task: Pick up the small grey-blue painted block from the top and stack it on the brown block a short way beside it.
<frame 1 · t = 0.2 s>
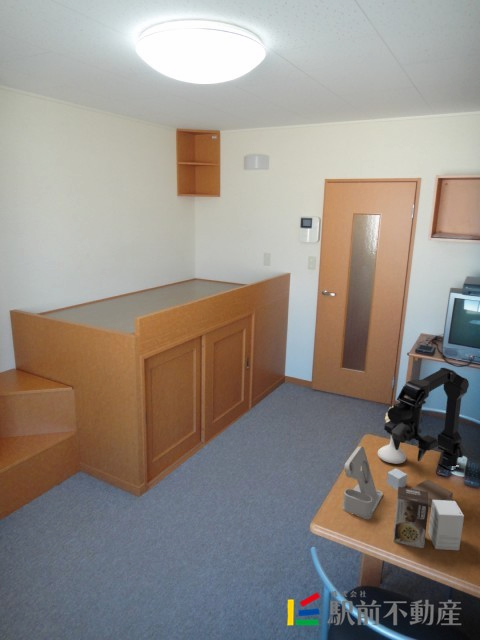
hand: (407, 455, 165), 14 cm above the table, tool pointing down, fingers open, 9 cm apart
flower in vase: (391, 460, 187), on the table
supplement box: (442, 542, 142), on the table
phone holder: (362, 502, 161), on the table
brown block: (431, 497, 163), on the table
coffee box: (408, 539, 143), on the table
grey-blue block: (396, 485, 171), on the table
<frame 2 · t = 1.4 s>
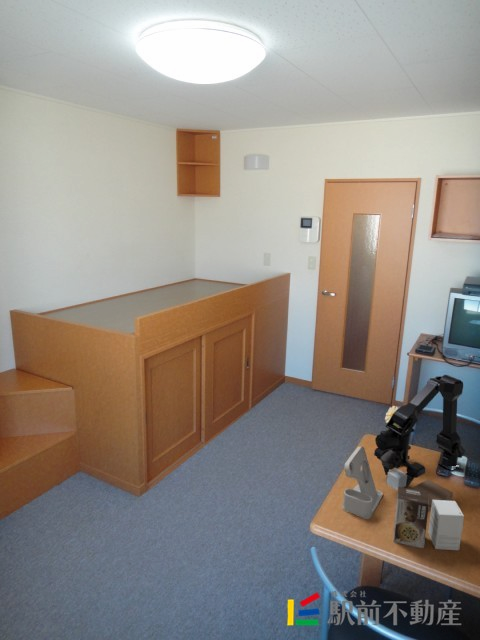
hand: (396, 480, 170), 2 cm above the table, tool pointing down, fingers open, 9 cm apart
nothing on the table moved.
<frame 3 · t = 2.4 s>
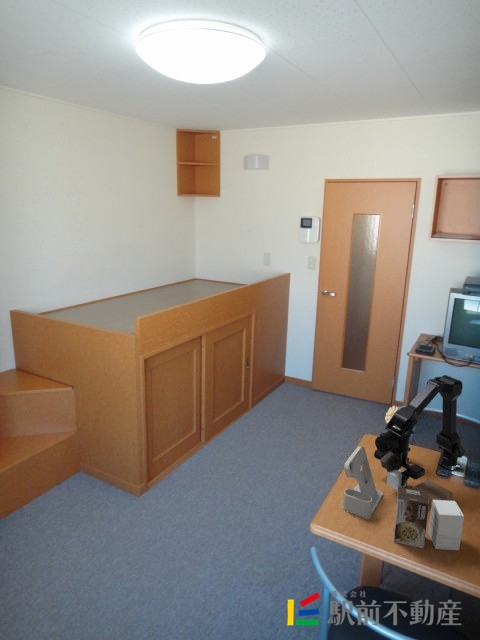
hand: (396, 482, 170), 1 cm above the table, tool pointing down, fingers closed on grey-blue block, 5 cm apart
grey-blue block: (396, 484, 171), on the table, touching gripper
everything else where it was.
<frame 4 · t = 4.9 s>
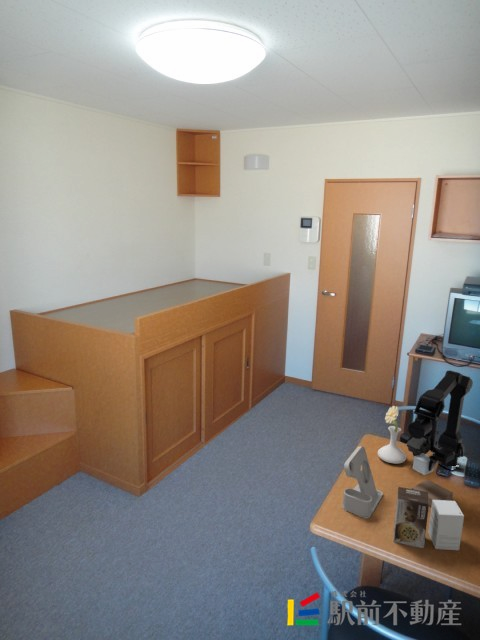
hand: (423, 467, 163), 11 cm above the table, tool pointing down, fingers closed on grey-blue block, 5 cm apart
grey-blue block: (422, 469, 163), point 10 cm above the table, touching gripper
everything else where it was.
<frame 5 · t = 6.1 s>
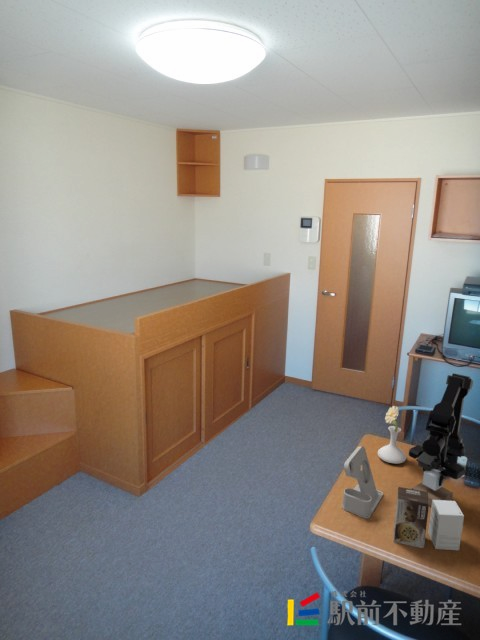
hand: (433, 482, 162), 6 cm above the table, tool pointing down, fingers closed on grey-blue block, 5 cm apart
grey-blue block: (432, 484, 162), point 5 cm above the table, touching gripper
everything else where it was.
when the fingers open (5 cm above the table, at t = 7.2 s): grey-blue block drops 1 cm, resting on brown block.
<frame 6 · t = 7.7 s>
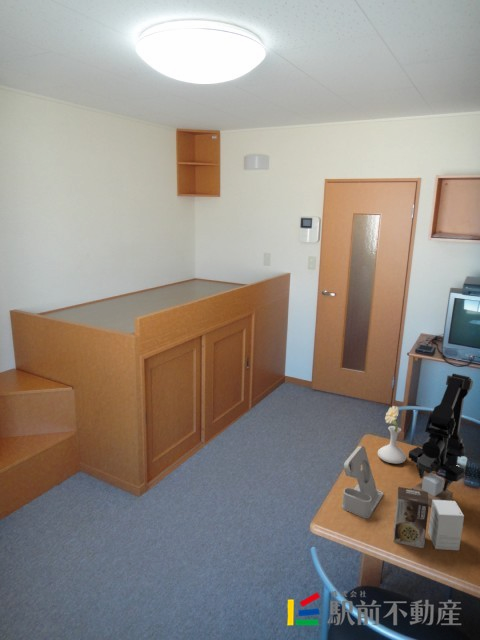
hand: (432, 484, 162), 5 cm above the table, tool pointing down, fingers open, 9 cm apart
grey-blue block: (432, 490, 162), point 3 cm above the table, touching brown block
everything else where it was.
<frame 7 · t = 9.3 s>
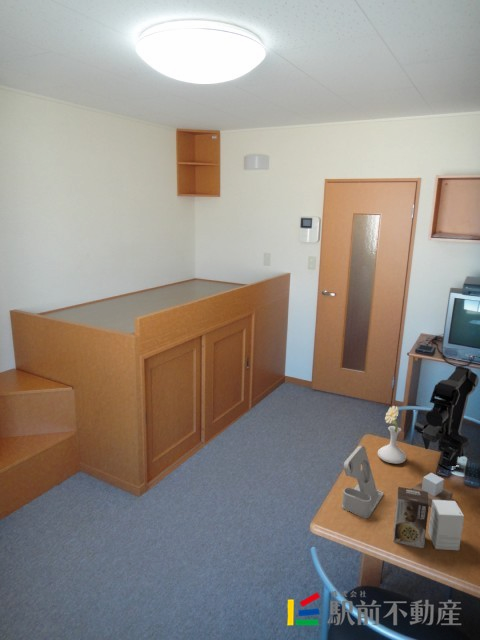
hand: (437, 454, 168), 13 cm above the table, tool pointing down, fingers open, 9 cm apart
nothing on the table moved.
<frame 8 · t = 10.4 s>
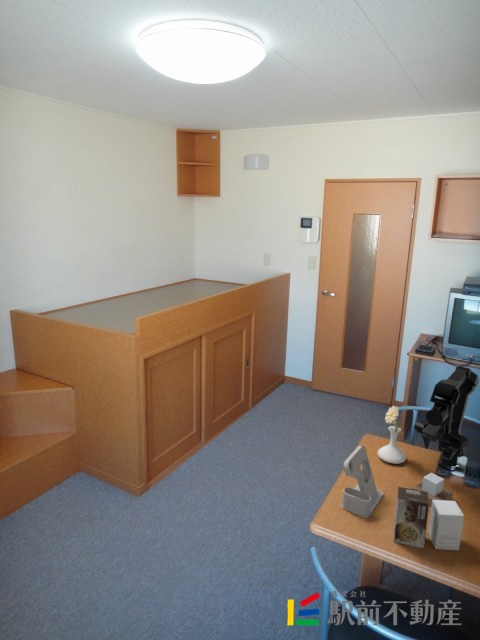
hand: (437, 454, 168), 13 cm above the table, tool pointing down, fingers open, 9 cm apart
nothing on the table moved.
at the end: grey-blue block inside the target area on the brown block (0.0 cm from its centre), point 3.0 cm above the brown block's base; grey-blue block tilted 0°; the gripper is holding nothing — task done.
